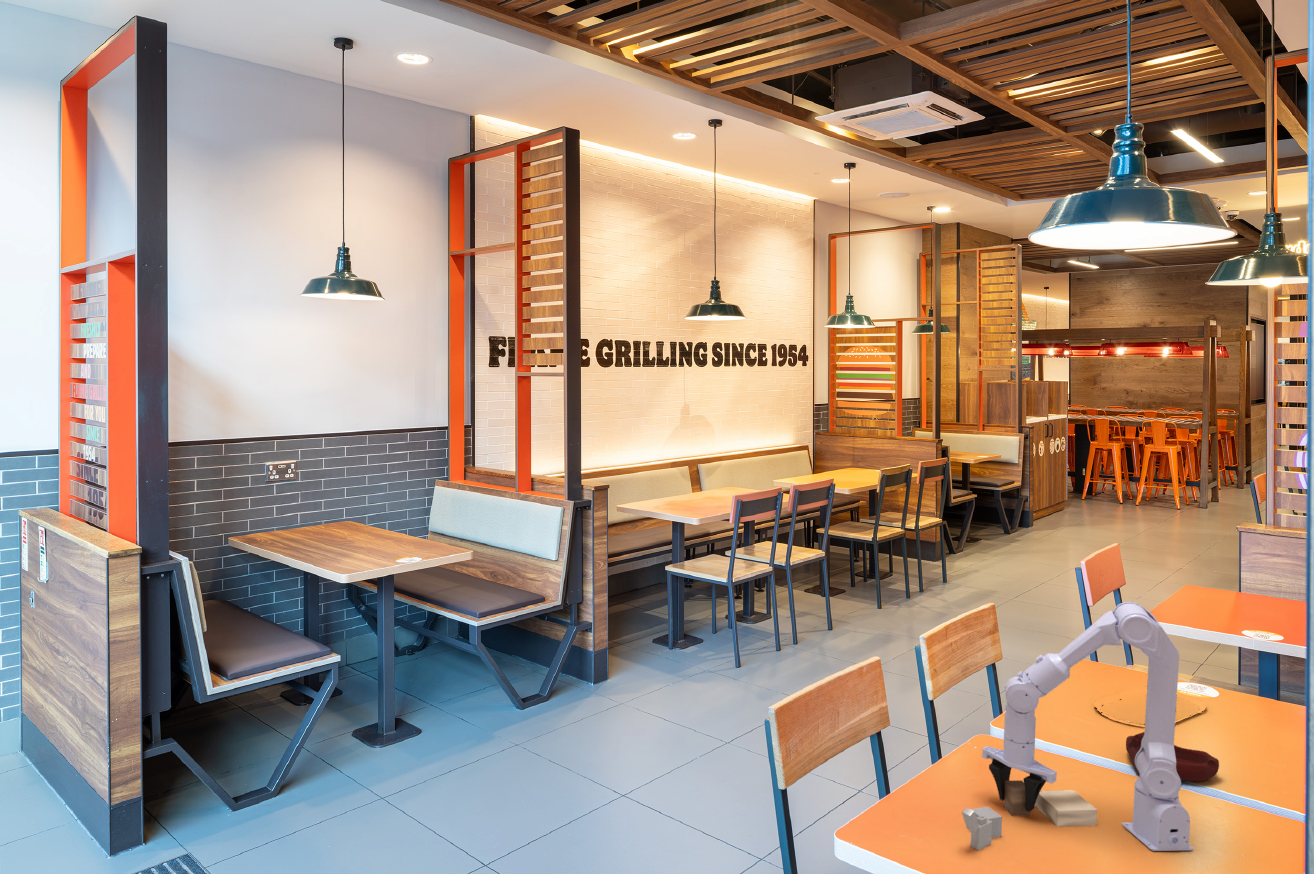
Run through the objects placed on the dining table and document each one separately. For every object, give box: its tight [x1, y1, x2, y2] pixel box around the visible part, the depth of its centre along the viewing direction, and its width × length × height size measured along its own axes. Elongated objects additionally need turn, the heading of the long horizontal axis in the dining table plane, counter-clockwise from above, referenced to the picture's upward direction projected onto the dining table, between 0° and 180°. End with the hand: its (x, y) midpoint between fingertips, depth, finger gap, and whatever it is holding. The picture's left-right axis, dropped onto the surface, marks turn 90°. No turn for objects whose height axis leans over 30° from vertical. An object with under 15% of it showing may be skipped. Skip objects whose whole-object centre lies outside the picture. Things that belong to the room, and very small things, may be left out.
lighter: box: [961, 806, 992, 851], centre depth 156 cm, size 7×2×8 cm, turn 125°
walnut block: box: [1003, 780, 1030, 817], centre depth 169 cm, size 4×4×6 cm
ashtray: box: [1125, 731, 1220, 782], centre depth 188 cm, size 18×16×5 cm
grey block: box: [970, 806, 1003, 840], centre depth 161 cm, size 4×4×4 cm
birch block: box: [1034, 789, 1098, 828], centre depth 168 cm, size 8×8×4 cm
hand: (1016, 804), depth 169 cm, fingers closed on walnut block, 5 cm apart
